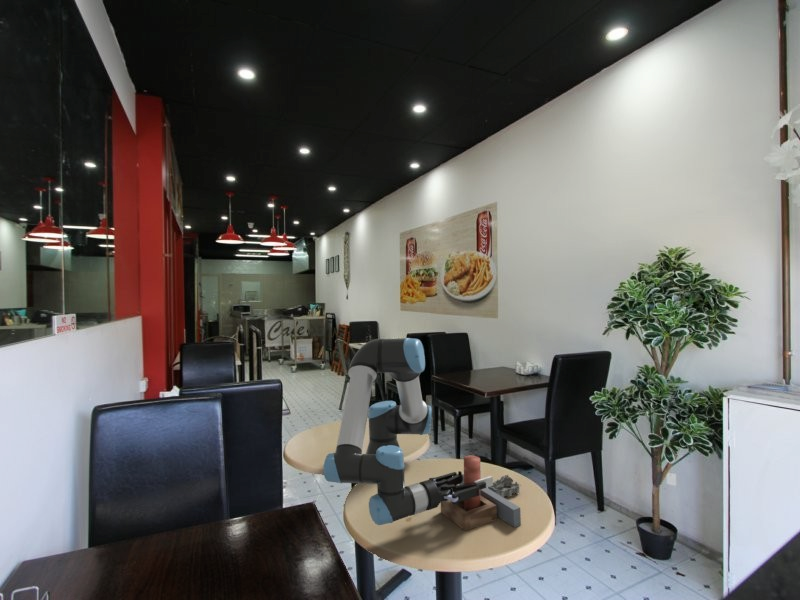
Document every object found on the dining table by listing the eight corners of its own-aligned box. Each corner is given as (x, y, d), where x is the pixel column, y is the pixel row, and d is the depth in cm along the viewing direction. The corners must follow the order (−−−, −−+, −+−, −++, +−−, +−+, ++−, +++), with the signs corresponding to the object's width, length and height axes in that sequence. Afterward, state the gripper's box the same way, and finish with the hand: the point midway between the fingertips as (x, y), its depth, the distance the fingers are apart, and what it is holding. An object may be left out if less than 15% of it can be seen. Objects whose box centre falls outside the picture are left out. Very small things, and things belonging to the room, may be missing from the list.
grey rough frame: (509, 485, 140) (508, 473, 140) (523, 494, 133) (523, 482, 133) (484, 491, 136) (483, 479, 136) (498, 501, 129) (497, 489, 129)
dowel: (460, 509, 122) (460, 457, 123) (473, 505, 125) (473, 454, 125) (470, 516, 118) (470, 462, 118) (483, 512, 120) (483, 459, 121)
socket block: (440, 511, 123) (440, 499, 123) (471, 501, 129) (471, 489, 129) (464, 530, 113) (464, 516, 113) (497, 518, 118) (496, 505, 118)
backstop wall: (459, 490, 137) (459, 476, 137) (465, 489, 138) (464, 474, 138) (514, 527, 114) (513, 509, 114) (520, 524, 115) (520, 507, 115)
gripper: (407, 496, 121) (468, 478, 132) (440, 524, 105) (506, 501, 116) (406, 472, 121) (467, 455, 132) (439, 496, 105) (505, 475, 116)
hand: (485, 477), depth 124 cm, fingers closed on dowel, 5 cm apart
